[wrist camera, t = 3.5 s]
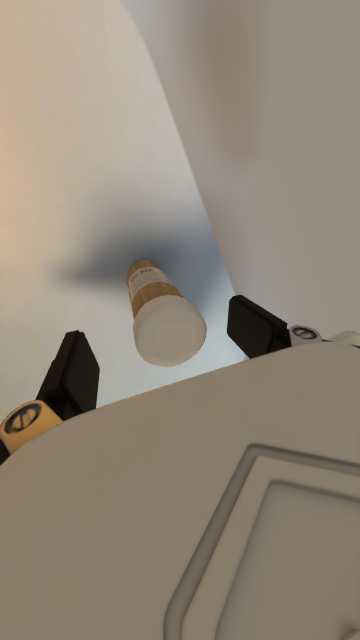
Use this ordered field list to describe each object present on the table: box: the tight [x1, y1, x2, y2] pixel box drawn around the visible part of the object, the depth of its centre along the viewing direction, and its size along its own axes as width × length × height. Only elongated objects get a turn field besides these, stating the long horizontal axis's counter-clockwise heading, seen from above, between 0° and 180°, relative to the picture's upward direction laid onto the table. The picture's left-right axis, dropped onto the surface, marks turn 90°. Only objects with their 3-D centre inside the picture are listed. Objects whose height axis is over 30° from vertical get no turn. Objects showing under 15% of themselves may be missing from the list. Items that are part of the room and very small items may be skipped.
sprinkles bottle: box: [126, 260, 206, 367], centre depth 16 cm, size 5×5×14 cm
